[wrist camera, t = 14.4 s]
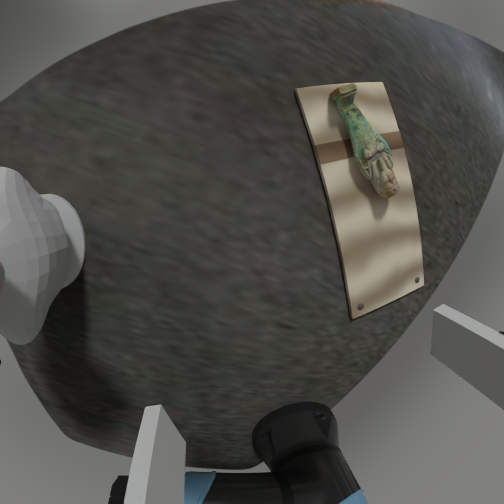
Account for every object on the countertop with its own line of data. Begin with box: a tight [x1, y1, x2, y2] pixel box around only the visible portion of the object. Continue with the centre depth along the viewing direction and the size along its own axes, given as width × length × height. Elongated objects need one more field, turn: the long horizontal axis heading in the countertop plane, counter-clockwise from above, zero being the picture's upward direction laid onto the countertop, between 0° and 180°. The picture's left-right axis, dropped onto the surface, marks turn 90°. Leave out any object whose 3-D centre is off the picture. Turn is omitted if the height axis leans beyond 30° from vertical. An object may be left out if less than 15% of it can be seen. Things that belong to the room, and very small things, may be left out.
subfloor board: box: [295, 82, 424, 319], centre depth 34 cm, size 32×14×1 cm, turn 17°
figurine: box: [329, 83, 400, 198], centre depth 30 cm, size 6×15×4 cm, turn 21°
